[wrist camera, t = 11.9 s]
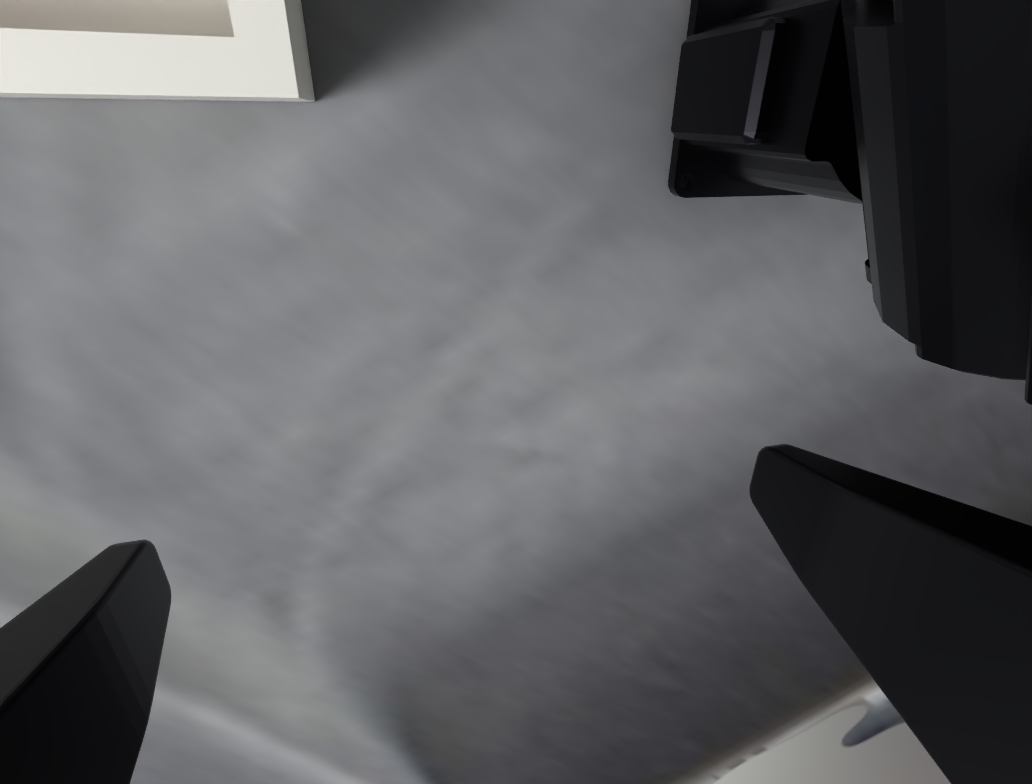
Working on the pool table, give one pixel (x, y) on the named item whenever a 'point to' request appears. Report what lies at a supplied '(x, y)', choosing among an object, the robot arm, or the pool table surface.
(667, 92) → the pool table surface
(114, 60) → the bin
